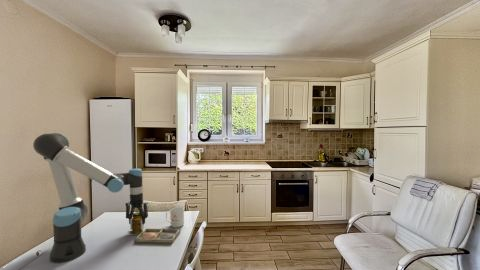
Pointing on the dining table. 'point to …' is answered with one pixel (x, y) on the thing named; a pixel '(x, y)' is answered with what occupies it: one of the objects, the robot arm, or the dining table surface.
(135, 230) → the condiment
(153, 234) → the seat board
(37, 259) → the dining table surface
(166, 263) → the dining table surface
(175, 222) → the mug
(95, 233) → the dining table surface
